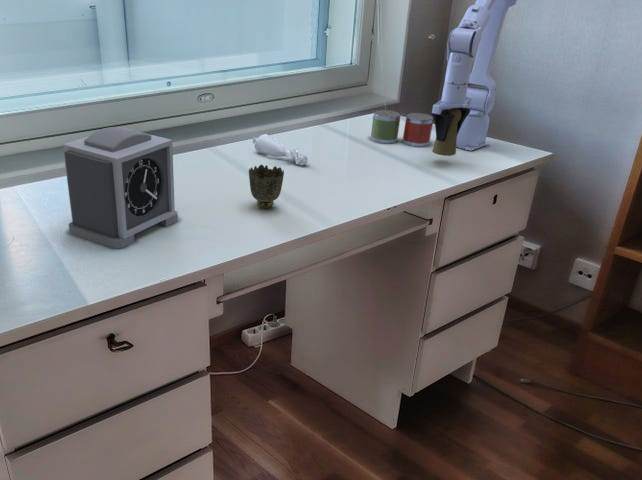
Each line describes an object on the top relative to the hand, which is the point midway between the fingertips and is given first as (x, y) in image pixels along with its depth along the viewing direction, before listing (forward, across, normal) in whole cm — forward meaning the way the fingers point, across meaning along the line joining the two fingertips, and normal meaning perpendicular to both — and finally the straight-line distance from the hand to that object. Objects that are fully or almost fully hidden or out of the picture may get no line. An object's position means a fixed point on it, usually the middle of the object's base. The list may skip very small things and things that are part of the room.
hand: (446, 138), depth 174 cm
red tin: (+6, +10, +15) cm, 19 cm away
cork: (+4, 0, 0) cm, 4 cm away
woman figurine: (+6, -30, +29) cm, 43 cm away
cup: (+6, -58, +7) cm, 58 cm away
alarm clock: (+6, -86, +17) cm, 88 cm away
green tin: (+6, +5, +23) cm, 24 cm away
